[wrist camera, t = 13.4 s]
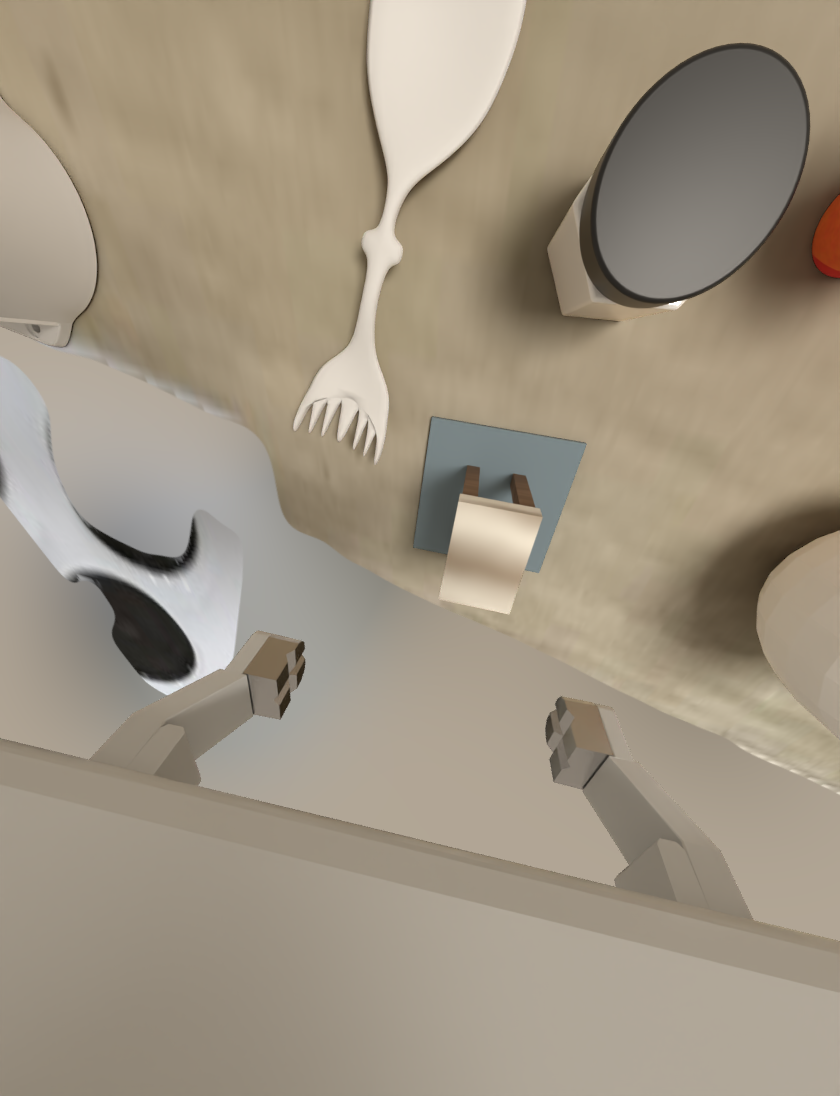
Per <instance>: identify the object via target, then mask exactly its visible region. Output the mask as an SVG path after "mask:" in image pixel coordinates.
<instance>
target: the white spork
mask: <svg viewBox="0 0 840 1096" xmlns="http://www.w3.org/2000/svg"><path fill="white" fill-rule="evenodd" d="M525 6H526V0H370V8H369V19H368V32H367V74H368V84H369V91H370V97H371V103H372V108H373V113H374V117H375V122H376V126H377V130H378V134H379V138H380V142H381V146H382V150H383V154H384V158H385V163H386V168H387V175H388V186H387V196H386V202H385V207H384V211H383V215H382V218H381V221H380V223H379V225H378V227H376V228H375V229H373V230H368V231H365V233H364V235H363V238H362V243H361V244H362V249H363V250H364V252H365V254H366V257H367V273H366V280H365V285H364V290H363V295H362V300H361V304H360V309H359V314H358V319H357V324H356V328H355V331H354V335H353V337H352V339H351V341H350V343H349V344H348V346H347V347H346V348H345V349H344V350H343V351H342V352H340V353H339V354H338V355H336V356H335V357H333V358H332V359H330V360H329V361H328V362H326V363H325V364H324V365H323V366H322V367H321V368H320V369H319V371H318V372H317V374H316V375H315V377H314V379H313V381H312V383H311V385H310V387H309V389H308V391H307V393H306V395H305V396H304V398H303V400H302V402H301V404H300V407H299V409H298V411H297V414H296V417H295V419H294V424H293V430H294V431H296V430H297V429H298V428H299V426H300V425H301V423H302V421H303V419H304V417H305V415H306V413H307V411H308V410H309V408H310V407H311V406H312V405H313V407H312V414H311V419H310V425H309V434H310V433H311V431H312V430H313V428H314V426H315V424H316V422H317V420H318V418H319V416H320V414H321V412H322V410H323V409H324V407H325V405H326V403H327V409H326V414H325V418H324V423H323V427H322V433H321V435H322V437H323V436H324V434H325V432H326V431H327V429H328V427H329V425H330V423H331V421H332V418H333V416H334V414H335V412H336V410H337V409H338V407H339V405H340V403H341V404H342V407H341V414H340V419H339V425H338V431H337V440H338V442H340V441H341V440H342V439H343V437H344V436H345V434H346V432H347V430H348V429H349V427H350V425H351V423H352V421H353V419H354V417H355V415H356V413H357V412H358V410H359V417H358V423H357V428H356V433H355V438H354V442H353V450H354V449H355V447H356V446H357V444H358V442H359V439H360V437H361V435H362V433H363V430H364V428H365V426H366V424H367V422H368V429H367V436H366V441H365V447H364V453H363V455H364V456H365V455H366V453H367V451H368V449H369V447H370V445H371V442H372V440H373V438H374V436H375V434H376V436H377V441H376V450H375V457H374V465H376V464H377V462H378V461H379V459H380V456H381V453H382V450H383V446H384V442H385V436H386V429H387V420H388V412H389V395H388V390H387V386H386V383H385V380H384V377H383V374H382V371H381V369H380V366H379V362H378V359H377V355H376V349H375V319H376V310H377V305H378V299H379V295H380V292H381V288H382V284H383V282H384V279H385V276H386V274H387V272H388V270H389V269H390V268H391V267H392V266H394V265H397V264H399V262H400V261H401V258H402V254H403V247H402V245H401V244H400V243H399V241H398V240H397V239H396V237H395V232H394V230H395V223H396V219H397V216H398V213H399V211H400V208H401V206H402V204H403V202H404V200H405V198H406V196H407V195H408V193H409V192H410V190H411V189H412V188H413V187H414V186H415V185H416V184H417V183H418V182H419V181H420V180H421V179H422V178H423V177H424V176H426V175H427V174H428V173H430V172H431V171H432V170H434V169H435V168H436V167H437V166H439V165H440V164H441V163H443V162H444V161H445V160H446V159H447V158H449V157H450V156H451V155H452V154H453V153H454V152H455V151H457V150H458V149H459V148H460V147H461V146H462V145H463V144H464V143H465V142H466V141H467V140H468V139H469V137H470V136H471V135H472V134H473V133H474V132H475V130H476V129H477V128H478V126H479V125H480V124H481V122H482V121H483V119H484V118H485V116H486V114H487V113H488V111H489V109H490V107H491V106H492V104H493V102H494V100H495V98H496V96H497V93H498V91H499V89H500V87H501V84H502V82H503V80H504V77H505V75H506V72H507V70H508V67H509V64H510V62H511V59H512V56H513V53H514V50H515V47H516V44H517V40H518V37H519V33H520V30H521V25H522V21H523V17H524V11H525Z"/></svg>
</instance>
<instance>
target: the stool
mask: <svg viewBox="0 0 840 1096" xmlns="http://www.w3.org/2000/svg"><path fill="white" fill-rule="evenodd" d="M479 475H480V467H476V466H470V465H468V466H467V471H466V475H465V481H464V486H463V492H462V494H460V496H459V501H458V506H457V511H456V516H455V521H454V526H453V531H452V535H451V540H450V545H449V550H448V555H447V560H446V565H445V570H444V574H443V579H442V584H441V589H440V594H439V599H440V600H444V601H449V602H454V603H459V604H463V605H468V606H473V607H477V608H482V609H487V610H491V611H496V612H501V613H505V614H510V611H511V608H512V605H513V602H514V599H515V596H516V593H517V591H518V588H519V585H520V582H521V579H522V576H523V573H524V570H525V567H526V564H527V562H528V559H529V556H530V553H531V550H532V547H533V544H534V541H535V538H536V536H537V533H538V530H539V527H540V524H541V521H542V518H543V517H542V513H541V510H540V508H535V504H534V501H533V498H532V494H531V491H530V488H529V484H528V481H527V478H526V476H525V475H519V474H514V473H513V476H512V480H511V483H510V489H511V495H512V501H513V503H508V502H503V501H497V500H492V499H487V498H482V497H478V490H479Z"/></svg>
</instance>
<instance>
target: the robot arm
mask: <svg viewBox="0 0 840 1096" xmlns="http://www.w3.org/2000/svg"><path fill="white" fill-rule="evenodd" d="M96 277H97V259H96V250H95V244H94V239H93V235H92V231H91V227H90V224H89V221H88V217H87V215H86V212H85V209H84V207H83V204H82V202H81V200H80V197H79V195H78V193H77V191H76V189H75V187H74V185H73V183H72V181H71V179H70V178H69V176H68V174H67V172H66V171H65V169H64V168H63V166H62V165H61V163H60V162H59V160H58V159H57V157H56V156H55V154H54V153H53V152H52V150H51V149H50V148H49V147H48V145H47V144H46V143H45V142H44V141H43V139H42V138H41V137H40V136H39V135H38V134H37V133H36V132H35V131H34V130H33V129H32V128H31V127H30V126H29V125H28V124H27V123H26V122H25V121H24V120H23V119H22V118H20V117H19V116H18V115H17V114H16V113H15V112H14V111H13V110H12V109H11V108H10V107H9V106H8V105H7V104H6V103H5V102H4V100H3V99H2V98H1V96H0V326H1V327H3V328H6V329H8V330H11V331H14V332H16V333H19V334H21V335H24V336H26V337H29V338H32V339H34V340H37V341H39V342H42V343H44V344H47V345H50V346H58V347H64V346H66V345H67V343H68V341H69V337H70V333H71V328H72V323H73V322H74V320H75V319H76V317H77V316H79V315H80V314H81V313H82V312H83V311H84V310H85V308H86V307H87V306H88V304H89V302H90V300H91V298H92V296H93V293H94V289H95V285H96ZM304 649H305V645H304V642H303V641H300V640H296V639H292V638H288V637H283V636H280V635H276V634H271V633H267V632H263V631H256V632H255V633H254V634H252V636H251V637H250V638H249V639H248V641H247V642H246V643H245V645H244V646H243V647H242V648H241V650H240V651H239V652H238V653H237V655H236V656H235V657H234V659H233V660H232V661H231V662H230V664H229V665H228V666H227V667H226V669H225V670H223V669H219V670H217V671H215V672H213V673H211V674H209V675H207V676H205V677H203V678H201V679H199V680H197V681H195V682H193V683H191V684H189V685H188V686H186V687H184V688H182V689H180V690H178V691H176V692H174V693H172V694H170V695H168V696H166V697H164V698H162V699H160V700H158V701H156V702H154V703H152V704H150V705H148V706H146V707H145V708H142V709H141V710H138V711H137V712H135V713H133V714H132V715H131V716H130V717H129V718H128V719H127V720H126V721H125V722H124V723H123V724H122V725H121V726H120V727H119V728H118V730H116V732H115V733H114V734H113V735H112V736H111V737H110V738H109V739H108V740H107V741H106V742H105V743H104V744H103V745H102V746H101V747H100V748H99V750H98V751H97V752H96V753H95V754H94V755H93V756H92V757H91V758H90V759H89V760H88V759H84V758H80V757H76V756H72V755H67V754H63V753H59V752H55V751H50V750H46V749H43V748H38V747H34V746H30V745H26V744H21V743H18V742H14V741H9V740H5V739H1V738H0V1096H840V941H837V940H833V939H829V938H825V937H821V936H816V935H812V934H809V933H804V932H800V931H796V930H791V929H788V928H784V927H780V926H775V925H771V924H767V923H763V922H759V921H754V920H753V918H752V916H751V913H750V911H749V909H748V907H747V905H746V903H745V901H744V899H743V897H742V895H741V892H740V890H739V888H738V886H737V884H736V882H735V880H734V878H733V876H732V874H731V872H730V869H729V867H728V865H727V863H726V861H725V859H724V857H723V855H722V853H721V851H720V850H719V849H718V848H717V847H716V845H715V844H714V843H713V842H712V841H711V840H710V839H709V838H708V837H707V836H706V835H705V834H704V832H703V831H702V830H701V829H700V828H699V827H698V826H697V825H696V824H695V823H694V822H693V820H692V819H691V818H690V817H689V816H688V815H687V814H686V813H685V812H684V811H683V810H682V809H681V807H680V806H679V805H678V804H677V803H676V802H675V801H674V800H673V799H672V798H671V797H670V795H669V794H668V793H667V792H666V791H665V790H664V789H663V788H662V787H661V786H660V785H659V784H658V783H657V781H656V780H655V779H654V778H653V777H652V776H651V775H650V774H649V773H648V772H647V771H646V770H645V768H644V767H643V766H642V765H641V764H640V763H639V762H635V761H633V758H632V755H631V753H630V750H629V748H628V745H627V742H626V739H625V737H624V734H623V732H622V729H621V726H620V724H619V721H618V719H617V716H616V713H615V711H614V709H613V708H612V707H609V706H605V705H600V704H595V703H592V702H587V701H582V700H577V699H572V698H567V697H562V696H561V697H559V698H558V699H557V701H556V703H555V706H556V710H554V711H552V712H550V714H549V716H548V718H547V722H546V728H545V732H546V742H547V745H548V746H549V747H550V749H551V750H552V751H553V754H552V755H551V757H550V764H551V771H552V776H553V781H554V782H555V783H559V784H563V785H567V786H571V787H575V788H578V789H582V790H583V793H584V795H585V796H586V798H587V799H588V801H589V802H590V804H591V806H592V807H593V808H594V810H595V812H596V813H597V815H598V817H599V818H600V820H601V821H602V823H603V825H604V826H605V828H606V829H607V831H608V832H609V834H610V836H611V837H612V839H613V840H614V842H615V843H616V845H617V846H618V848H619V850H620V851H621V853H622V854H623V856H624V857H625V859H626V861H627V862H628V864H629V866H627V867H626V868H625V869H624V870H623V871H622V872H621V873H619V875H618V876H617V877H616V878H615V880H614V881H615V885H616V887H614V886H610V885H606V884H601V883H597V882H592V881H589V880H585V879H580V878H577V877H572V876H568V875H564V874H560V873H556V872H552V871H548V870H543V869H539V868H535V867H531V866H527V865H523V864H519V863H515V862H510V861H506V860H502V859H498V858H494V857H490V856H485V855H482V854H477V853H473V852H469V851H465V850H461V849H456V848H452V847H448V846H444V845H440V844H436V843H432V842H427V841H423V840H419V839H415V838H411V837H407V836H403V835H399V834H395V833H390V832H386V831H382V830H378V829H374V828H370V827H366V826H362V825H357V824H353V823H349V822H345V821H341V820H337V819H333V818H329V817H324V816H320V815H316V814H312V813H308V812H303V811H300V810H295V809H291V808H287V807H283V806H279V805H275V804H270V803H266V802H262V801H258V800H254V799H250V798H246V797H241V796H237V795H233V794H229V793H224V792H221V791H216V790H212V789H208V788H204V787H200V786H198V785H199V783H200V782H201V777H200V773H199V770H198V767H197V765H196V762H195V760H196V759H197V758H198V757H200V756H201V755H202V754H204V753H205V752H206V751H208V750H209V749H210V748H212V747H213V746H214V745H216V744H217V743H218V742H220V741H221V740H222V739H223V738H225V737H226V736H228V735H229V734H230V733H232V732H233V731H234V730H235V729H237V728H238V727H239V726H241V725H242V724H243V723H245V722H246V721H247V720H249V719H250V718H251V717H253V714H254V715H259V716H265V717H269V718H275V719H281V718H282V716H283V714H284V712H285V710H286V708H287V707H288V705H289V703H290V701H291V699H290V692H292V691H294V690H295V689H297V687H298V685H299V684H300V682H301V679H302V676H303V673H304V670H305V658H304V657H303V656H302V653H303V652H304Z"/></svg>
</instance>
